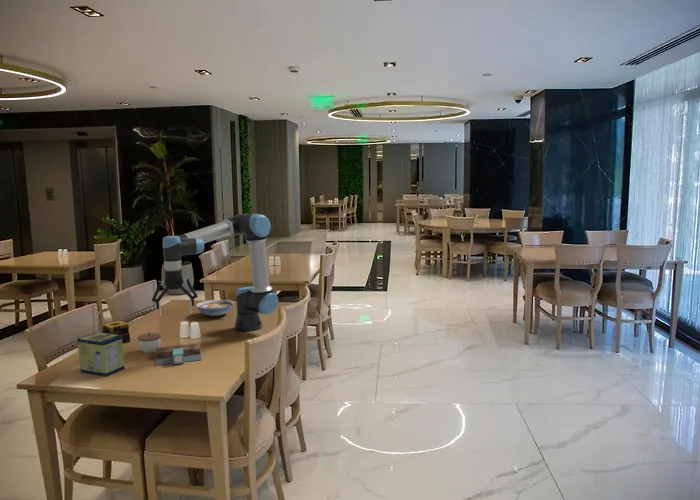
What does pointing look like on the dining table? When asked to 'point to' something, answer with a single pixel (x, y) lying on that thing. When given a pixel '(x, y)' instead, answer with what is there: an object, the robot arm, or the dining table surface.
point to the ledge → (168, 351)
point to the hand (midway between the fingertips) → (176, 314)
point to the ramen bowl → (215, 307)
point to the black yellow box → (117, 330)
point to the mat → (170, 360)
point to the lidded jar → (149, 342)
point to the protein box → (101, 354)
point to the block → (178, 356)
